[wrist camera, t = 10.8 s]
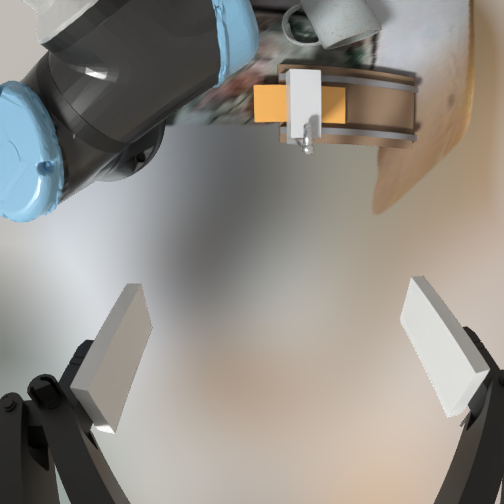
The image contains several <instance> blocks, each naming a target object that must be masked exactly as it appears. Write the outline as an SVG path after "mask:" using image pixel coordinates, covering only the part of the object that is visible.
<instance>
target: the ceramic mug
mask: <svg viewBox="0 0 504 504" xmlns="http://www.w3.org/2000/svg"><path fill="white" fill-rule="evenodd" d="M300 8H303V10H304V11H305V13H306V15H307V17H308V19H309V20H310V22H311V24H312V26H313V28H314V30H315V33H316V34H317V37H318V39H319V41H318V42H315V43H301V42H298V41H296V40H295V39H294V36H293V34H292V32H291V29H290V23H288V20H289V18H290V16H291V15H292V14H293V13H294V12H295V11H297V10H298V9H300ZM282 29H283V32H284V34H285V36H286V37H287V39H288V40H289V41H291V42H292V43H294V44H296V45H299V46H304V47H313V46H319V45H322V47H323V48H324V49H325V50H329V49H334V48H338V47H341V46H345V45H348V44H351V43H354V42H357V41H359V40H362V39H365V38H368V37H370V36H372V35H374V34H376V33H378V32H379V31H380V30H381V26H380V24H379V22H378V21H377V19H376V18H375V16H374V14H373V12H372V11H371V9H370V8H369V6H368V4H367V3H366V1H365V0H300V4H297V5H295V6H293V7H291V8H290V9H289V10H288V11H287V12H286V13H285V14H284V16H283V19H282Z"/></svg>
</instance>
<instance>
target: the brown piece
mask: <svg viewBox="0 0 504 504" xmlns="http://www.w3.org/2000/svg"><path fill="white" fill-rule="evenodd" d="M277 67H278V85H286V72H287V71H288V70H289V69H308V70H321V86H329V87H343V88H345V124H342V123H321V138H313V143H330V144H331V143H332V144H353V145H370V146H382V147H394V148H404V149H412V141H417V135H414V134H413V120H414V93H418V87H416V86H414V78H412V77H407V76H402V75H396V74H390V73H383V72H376V71H369V70H361V69H352V68H342V67H330V66H315V65H290V64H278V66H277ZM286 133H287V122H279V142H280V143H286Z"/></svg>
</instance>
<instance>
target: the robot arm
mask: <svg viewBox="0 0 504 504" xmlns="http://www.w3.org/2000/svg"><path fill="white" fill-rule="evenodd" d="M22 1H24V2H25V3H26V4H27V5H29V6H30V7H31V8H33V9H34V10H35V12H36V15H37V24H36V40H37V42H38V43H40V44H41V45H42V46H44V47H45V48H46V49H48V50H49V51H48V52H47V53H46V54H45V55H44V56H43V57H42V58H41V59H40V60H39V61H38V63H37V64H36V65H35V66H34V67H33V68H32V69H31V71H30V72H29V73H28V74H27V75H26V76H25V78H24V79H23V80H21V81H20V82H17V81H8V82H6V83H3V84H1V85H0V216H2V217H4V218H9V219H10V220H12V221H14V222H29V221H31V220H34V219H36V218H38V217H40V216H42V215H47V214H48V213H51V212H52V211H53V210H54V209H55V208H56V207H57V206H58V205H59V204H60V203H62V202H63V201H65V200H66V199H68V198H69V197H71V196H72V195H74V194H75V193H77V192H78V191H80V190H82V189H83V188H85V187H87V186H88V185H90V184H91V183H93V182H95V181H105V182H109V181H117V180H121V179H125V178H127V177H129V176H131V175H133V174H135V173H136V172H138V171H139V170H141V169H142V168H143V167H144V166H146V165H147V164H148V163H149V162H150V161H151V160H152V158H153V157H154V156H155V154H156V153H157V151H158V149H159V147H160V145H161V142H162V139H163V135H164V130H165V119H166V118H167V117H169V116H170V115H171V114H173V113H174V112H176V111H177V110H178V109H180V108H181V107H183V106H184V105H186V104H187V103H189V102H190V101H192V100H193V99H195V98H196V97H198V96H199V95H201V94H202V93H204V92H205V91H207V90H209V89H210V88H212V87H217V86H219V85H221V83H222V82H224V80H225V78H227V77H228V76H230V75H231V74H233V73H234V72H236V71H238V70H239V69H241V68H242V67H244V66H245V65H247V64H248V63H250V62H251V61H252V60H253V58H254V56H255V54H256V53H257V51H258V49H259V42H260V40H259V39H260V38H259V30H258V25H257V21H256V17H255V14H254V11H253V9H252V6H251V3H250V1H249V0H22ZM400 322H401V324H402V326H403V328H404V330H405V332H406V334H407V335H408V337H409V339H410V341H411V343H412V345H413V347H414V349H415V351H416V353H417V355H418V357H419V358H420V361H421V363H422V365H423V367H424V369H425V371H426V373H427V375H428V377H429V379H430V381H431V383H432V385H433V387H434V389H435V391H436V393H437V396H438V398H439V400H440V402H441V405H442V407H443V409H444V411H445V413H446V416H447V417H448V418H449V417H452V416H455V415H459V414H461V413H462V412H463V411H464V409H465V408H466V406H467V405H468V406H469V408H470V410H471V411H470V412H469V413H468V415H467V416H466V417H465V419H464V420H463V421H462V423H461V425H460V426H461V427H462V426H463V424H464V423H465V425H464V429H463V432H462V434H461V438H460V441H459V443H458V446H457V449H456V452H455V455H454V458H453V460H452V463H451V465H450V468H449V470H448V473H447V475H446V477H445V480H444V482H443V484H442V487H441V489H440V491H439V493H438V495H437V498H436V500H435V502H434V504H494V503H495V500H496V497H497V494H498V491H499V488H500V484H501V481H502V491H501V501H500V504H504V370H500V369H499V367H498V366H497V364H496V363H495V361H494V360H493V358H492V357H491V355H490V354H489V352H488V351H487V349H486V348H485V346H484V345H483V343H482V342H480V341H481V340H480V339H479V338H478V336H477V335H476V334H475V332H473V331H472V330H471V329H470V328H468V327H462V326H461V325H460V323H459V322H458V320H457V319H456V318H455V316H454V315H453V314H452V312H451V311H450V310H449V308H448V307H447V305H446V304H445V303H444V301H443V300H442V299H441V297H440V296H439V295H438V294H437V292H436V291H435V290H434V288H433V287H432V286H431V285H430V283H429V282H428V281H427V280H426V278H425V277H424V276H418V277H411V280H410V284H409V288H408V292H407V296H406V299H405V303H404V307H403V310H402V314H401V317H400ZM152 328H153V327H152V324H151V320H150V316H149V313H148V309H147V305H146V301H145V297H144V293H143V289H142V285H141V284H127V285H126V286H125V288H124V290H123V292H122V293H121V295H120V296H119V298H118V300H117V302H116V303H115V305H114V306H113V308H112V310H111V312H110V313H109V315H108V317H107V319H106V320H105V322H104V324H103V326H102V327H101V329H100V331H99V333H98V335H97V336H96V338H95V340H85V341H84V342H83V343H82V344H81V345H80V346H79V347H78V348H77V350H76V352H75V353H74V355H73V358H72V359H71V360H70V362H69V365H68V366H67V368H66V369H65V371H64V373H63V375H62V377H61V379H60V381H59V382H57V380H56V379H55V377H54V376H52V375H49V374H43V375H39V376H37V377H36V378H34V379H33V380H32V381H31V382H30V384H29V386H28V389H27V390H28V391H27V393H28V395H29V396H30V397H31V399H32V400H28V401H24V400H23V399H22V398H21V396H20V395H19V394H17V393H13V392H12V393H8V394H5V395H4V396H3V397H2V398H1V399H0V504H60V501H59V495H58V489H57V482H56V474H55V465H56V468H57V471H58V473H59V476H60V478H61V481H62V484H63V486H64V488H65V491H66V493H67V495H68V498H69V500H70V502H71V504H130V502H129V501H128V499H127V497H126V496H125V494H124V492H123V490H122V489H121V487H120V485H119V484H118V482H117V480H116V478H115V477H114V475H113V473H112V471H111V469H110V467H109V465H108V464H107V462H106V460H105V458H104V456H103V454H102V452H101V450H100V448H99V446H98V444H97V442H96V440H95V437H94V435H93V433H92V432H91V431H90V429H91V426H92V424H93V423H94V425H95V426H96V428H97V429H98V430H99V431H104V432H109V433H115V432H116V429H117V426H118V423H119V420H120V417H121V414H122V411H123V408H124V405H125V402H126V399H127V396H128V393H129V391H130V388H131V385H132V382H133V379H134V377H135V374H136V371H137V368H138V365H139V363H140V360H141V357H142V355H143V352H144V349H145V347H146V344H147V341H148V339H149V336H150V334H151V331H152ZM54 463H55V465H54Z"/></svg>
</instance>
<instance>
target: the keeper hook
mask: <svg viewBox="0 0 504 504" xmlns="http://www.w3.org/2000/svg"><path fill="white" fill-rule="evenodd" d="M286 144H298V145H299V146H300V147H301V148H302V151H303V152H304V153H305V154H311V153H312V152H313V151H314V146H313V126H312V124H311V123H309V122H306V123H305V124H304V125H303V138H291V137H290V136H289V135H288V134H287V133H286Z"/></svg>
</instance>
